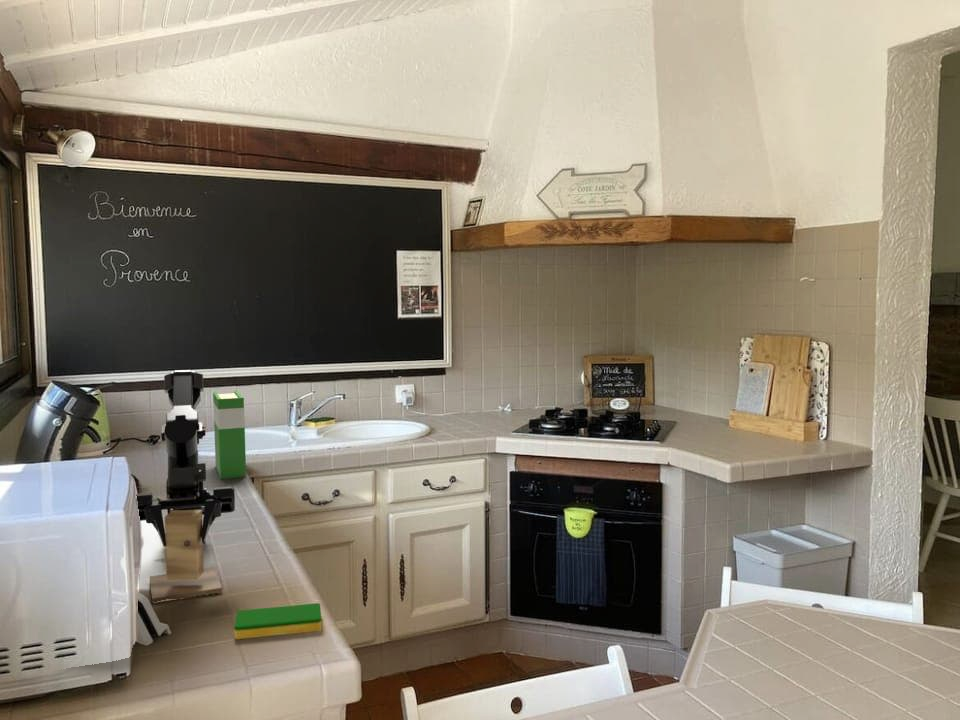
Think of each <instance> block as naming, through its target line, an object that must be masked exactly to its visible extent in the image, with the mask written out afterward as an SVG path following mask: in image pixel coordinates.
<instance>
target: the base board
mask: <svg viewBox="0 0 960 720" xmlns="http://www.w3.org/2000/svg"><path fill="white" fill-rule="evenodd" d="M217 573H218V572H217V570H216V567H208V568H207V567H206V568H205V567H204V572H203V573H202V574H201V576H200V577H199V578H198V579H192V580H167V573H164V574H159V575H152V576H151V575H150V576H149V583H150V584H149V586H150V585H151V587H150V595H151V594H152V595H151V603H152V602H157V601H161V600H166V599H180V598H187V599H190V598H189V597H193V598H196V597H195V596H199V597H202V596H201V595H206V594H212V595H214V594H213V593H218V594H220V593H219V592H222V593H223V587H222V585H221V581H220V578H219V577H218V574H217ZM206 596H207V595H206ZM180 600H181V599H180Z"/></svg>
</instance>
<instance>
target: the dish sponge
mask: <svg viewBox="0 0 960 720" xmlns="http://www.w3.org/2000/svg"><path fill="white" fill-rule="evenodd" d="M321 611H322V610H321V603H319V602H318V603H305V604H297V605H295V604H294V605H286V606H285V605H283V606H275V607H262V608H251V609H242V610H241V609H240V610H238V611H237V612H236V617H235V623H234V639H235V640H240V639H241V640H242V639H251V638H252V639H253V638H260V637H261V638H262V637H268V636H269V637H270V636H279V635H289V634H290V635H291V634H299V633H311V632H320V631H322V626H323V625H322V612H321Z"/></svg>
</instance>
